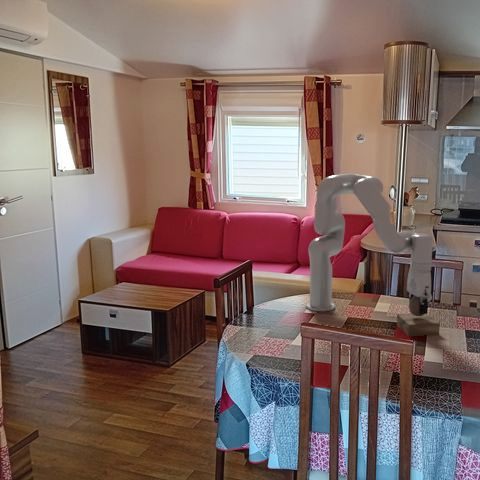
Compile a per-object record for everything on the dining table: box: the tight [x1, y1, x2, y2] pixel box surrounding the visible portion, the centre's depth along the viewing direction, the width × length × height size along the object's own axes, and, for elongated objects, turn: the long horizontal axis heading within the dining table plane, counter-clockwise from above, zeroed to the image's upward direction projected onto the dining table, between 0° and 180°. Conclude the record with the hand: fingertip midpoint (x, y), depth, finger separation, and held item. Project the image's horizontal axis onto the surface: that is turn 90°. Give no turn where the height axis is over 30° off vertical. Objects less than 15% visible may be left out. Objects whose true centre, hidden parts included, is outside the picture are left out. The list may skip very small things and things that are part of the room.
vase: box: [408, 295, 425, 316], centre depth 210 cm, size 7×7×9 cm
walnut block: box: [396, 313, 440, 337], centre depth 212 cm, size 12×12×5 cm
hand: (417, 310), depth 211 cm, fingers closed on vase, 6 cm apart
